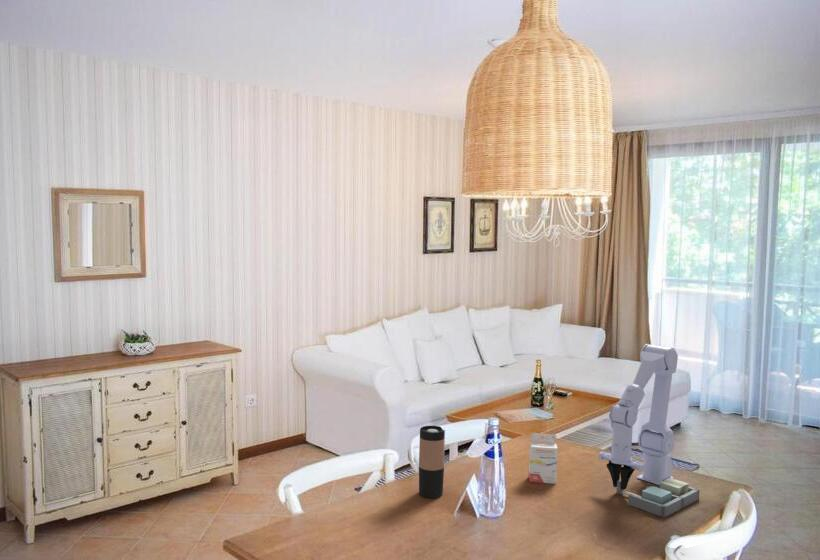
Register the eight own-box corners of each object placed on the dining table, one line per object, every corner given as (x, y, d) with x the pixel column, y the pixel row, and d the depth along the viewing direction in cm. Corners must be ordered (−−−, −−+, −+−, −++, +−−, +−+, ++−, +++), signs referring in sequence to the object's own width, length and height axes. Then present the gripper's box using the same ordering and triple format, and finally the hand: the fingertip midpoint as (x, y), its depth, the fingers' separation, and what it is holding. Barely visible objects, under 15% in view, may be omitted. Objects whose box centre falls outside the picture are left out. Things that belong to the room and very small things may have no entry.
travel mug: (414, 496, 199) (415, 430, 197) (423, 487, 206) (425, 424, 205) (438, 500, 196) (440, 434, 195) (446, 491, 203) (448, 427, 202)
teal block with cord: (622, 490, 207) (622, 476, 207) (670, 507, 195) (671, 492, 195) (611, 495, 203) (612, 480, 203) (660, 512, 191) (661, 497, 191)
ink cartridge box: (529, 482, 212) (531, 437, 211) (528, 476, 217) (529, 432, 216) (556, 484, 211) (558, 438, 210) (554, 478, 216) (556, 434, 215)
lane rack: (664, 488, 210) (664, 478, 209) (698, 499, 201) (699, 489, 201) (628, 504, 196) (628, 494, 196) (664, 517, 188) (664, 507, 187)
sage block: (669, 493, 206) (669, 477, 205) (687, 499, 201) (688, 483, 201) (659, 498, 202) (660, 482, 201) (678, 504, 197) (679, 488, 197)
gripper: (593, 440, 206) (592, 483, 207) (636, 453, 195) (634, 498, 196) (606, 436, 211) (604, 478, 212) (648, 448, 200) (646, 492, 201)
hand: (619, 487), depth 204 cm, fingers closed on teal block with cord, 2 cm apart
